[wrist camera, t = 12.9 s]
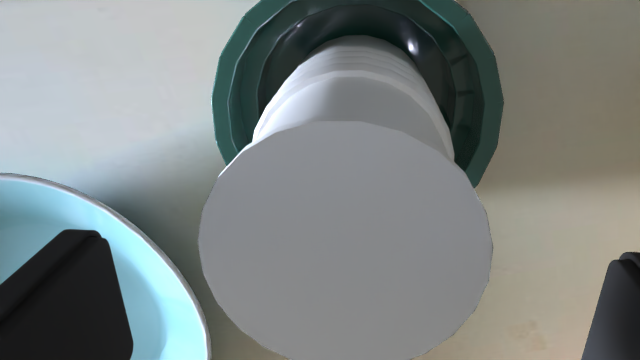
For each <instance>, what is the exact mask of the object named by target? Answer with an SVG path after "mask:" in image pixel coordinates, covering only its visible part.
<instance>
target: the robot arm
mask: <svg viewBox="0 0 640 360" xmlns="http://www.w3.org/2000/svg"><path fill="white" fill-rule="evenodd" d="M133 345H134V343H133V338H132V334H131V330H130V326H129V322H128V317H127V313H126V309H125V305H124V301H123V297H122V293H121V289H120V285H119V281H118V277H117V273H116V269H115V265H114V261H113V257H112V253H111V249H110V245H109V242H108V241H107V239H105V238H102V237H101V235H100V233H99V232H98V231H95V230H81V229H65V230H63V231H62V232H60V233H59V234H58V235H57V236H55V237H54V238H53V239H52V240H51V241H50V242H49V243H47V244H46V245H45V246H44V247H43V248H42V249H41V250H39V251H38V252H37V253H36V254H35V255H34V256H33V257H31V258H30V259H29V260H28V261H27V262H26V263H25V264H23V265H22V266H21V267H20V268H19V269H18V270H17V271H15V272H14V273H13V274H12V275H11V276H10V277H8V278H7V279H6V280H5V281H4V282H3V283H2V284H0V360H130V359H131V356H132V353H133ZM581 360H640V253H639V252H626V253H623V254H622V255H621V256H620V258H619V260H613V261H611V263H610V264H609V266H608V269H607V273H606V276H605V280H604V283H603V286H602V290H601V293H600V297H599V300H598V304H597V307H596V311H595V314H594V318H593V321H592V324H591V328H590V331H589V335H588V338H587V342H586V345H585V349H584V352H583V356H582V359H581Z"/></svg>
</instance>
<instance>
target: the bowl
mask: <svg viewBox="0 0 640 360" xmlns="http://www.w3.org/2000/svg"><path fill="white" fill-rule="evenodd" d="M350 35H367V36H371V37H375V38H379V39H383V40H386V41H387V42H389V43H391V44H393V45H394V46H396V47H398V48H400V49H401V50H402V51H403V52H404V53H405V54H406V55H407V56H408V57H409V58H410V59H411V60H412V61H413V62H414V63H415V64H416V66H417V68H418V70H419V72H420V74H421V75H422V77H423V79H424V80H425V82H426V84H427V86H428V88H429V90H430V92H431V93H432V95H433V97H434V99H435V101H436V103H437V105H438V107H439V109H440V112H441V114H442V115H443V117H444V120H445V122H446V124H447V126H448V128H449V131H450V135H451V140H452V145H453V150H454V162H455V163H456V164H457V165H458V166H459V167H460V168H461V169H462V170H463V171H464V172H465V173H466V175H467V177H468V179H469V181H470V182H471V184H472V186H473V188H475V187H476V186H477V185H478V184H479V182H480V180H481V178H482V176H483V174H484V172H485V170H486V168H487V166H488V164H489V162H490V160H491V158H492V156H493V154H494V152H495V150H496V148H497V145H498V139H499V133H500V126H501V119H502V112H503V105H504V101H503V100H504V98H503V93H502V88H501V83H500V78H499V73H498V68H497V63H496V58H495V55H494V52H493V51H492V49H491V47H490V46H489V44H488V42H487V41H486V39H485V37H484V36H483V34H482V32H481V31H480V29H479V27H478V26H477V24H476V22H475V21H474V19H473V17H472V16H471V14H470V13H468V11H467V10H466V9H464V8H463V7H462V6H461V5H459V4H458V3H457V2H456V1H454V0H261V1H260V2H258V3H257V4H256V5H255V6H254V7H252V8H251V9H250V10H249V11H248V12H247V13H245V16H243V17H242V19H241V20H240V22H239V24H238V26H237V27H236V29H235V31H234V32H233V34H232V36H231V37H230V39H229V41H228V42H227V44H226V46H225V48H224V49H223V51H222V53H221V56H220V57H219V62H218V67H217V72H216V76H215V81H214V86H213V91H212V96H211V105H212V114H213V123H214V131H215V140H216V143H217V146H218V148H219V150H220V152H221V155H222V157H223V159H224V161H225V164H226V166H228V165H229V164H230V163H231V162H232V161H233V159H234V158H235V157H236V156H237V155H238V154H239V153H240V152H241V151H242V150H243V149H244V148H245V147H246V146H247V145H249V144H250V143H252V142H253V136H254V131H255V128H256V126H257V124H258V122H259V120H260V118H261V116H262V114H263V112H264V110H265V108H266V106H267V105H268V104H269V103H270V102H271V100H272V98H273V97H274V96H275V94H276V93H277V92H278V90H279V89H280V88H281V86H282V85H283V83H284V82H285V81H286V80H287V79H288V77H289V76H290V75H291V74H292V73H293V72H294V71H295V70H296V68H297V66H298V65H299V64H300V63H301V62H302V61H303V60H304V58H305V57H306V56H307V55H308V54H309V53H310V52H311V51H312V50H314V49H316V48H317V47H319V46H320V45H322V44H323V43H325V42H327V41H330V40H333V39H336V38H339V37H343V36H350Z"/></svg>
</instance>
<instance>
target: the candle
mask: <svg viewBox="0 0 640 360" xmlns="http://www.w3.org/2000/svg"><path fill="white" fill-rule="evenodd" d="M198 247H199V253H200V259H201V265H202V271H203V275H204V277H205V279H206V281H207V283H208V285H209V287H210V289H211V291H212V294H213V296H214V298H215V300H216V302H217V303H218V304H219V306H220V307H221V308H222V309H223V310H224V312H225V313H226V314H227V315H228V316H229V318H230V319H231V320H232V321H233V322H234V324H235V325H236V326H237V327H238V328H239V329H241V330H242V331H243V332H245V333H246V334H247V335H249V336H250V337H251V338H253V339H254V340H255V341H257V342H258V343H259V344H261V345H262V346H263V347H265V348H267V349H269V350H272V351H274V352H276V353H278V354H280V355H282V356H284V357H286V358H289V359H291V360H410V359H412V358H415V357H418V356H420V355H423V354H426V353H427V352H429V351H430V350H432V349H433V348H435V347H436V346H438V345H439V344H441V343H442V342H444V341H445V340H447V339H448V338H449V337H451V336H452V335H454V334H455V332H456V331H457V330H458V329H459V328H460V327H461V326H462V325H463V323H464V322H465V321H466V320H467V319H468V318H469V317H470V315H471V314H472V313H473V312H474V311H475V309H476V307H477V305H478V303H479V301H480V299H481V297H482V294H483V292H484V290H485V288H486V286H487V284H488V282H489V276H490V269H491V261H492V254H493V244H492V238H491V233H490V228H489V223H488V217H487V213H486V211H485V209H484V206H483V204H482V203H481V201H480V199H479V197H478V195H477V193H476V192H475V190H474V188H473V186H472V184H471V182H470V181H469V179H468V177H467V175H466V173H465V172H464V171H463V170H462V169H461V168H460V167H459V166H458V165H457V164H456V163H455V162H454V150H453V145H452V140H451V135H450V131H449V128H448V126H447V124H446V122H445V120H444V117H443V115H442V114H441V112H440V109H439V107H438V105H437V103H436V101H435V99H434V97H433V95H432V93H431V92H430V90H429V88H428V86H427V84H426V82H425V80H424V79H423V77H422V75H421V74H420V72H419V70H418V68H417V66H416V64H415V63H414V62H413V61H412V60H411V59H410V58H409V57H408V56H407V55H406V54H405V53H404V52H403V51H402V50H401V49H400V48H398V47H396V46H394V45H393V44H391V43H389V42H387V41H386V40H383V39H379V38H375V37H371V36H367V35H350V36H343V37H339V38H336V39H333V40H330V41H327V42H325V43H323V44H322V45H320V46H319V47H317V48H316V49H314V50H312V51H311V52H310V53H309V54H308V55H307V56H306V57H305V58H304V60H303V61H302V62H301V63H300V64H299V65H298V66H297V68H296V70H295V71H294V72H293V73H292V74H291V75H290V76H289V77H288V79H287V80H286V81H285V82H284V83H283V85H282V86H281V88H280V89H279V90H278V92H277V93H276V94H275V96H274V97H273V98H272V100H271V102H270V103H269V104H268V105H267V106H266V108H265V110H264V112H263V114H262V116H261V118H260V120H259V122H258V124H257V126H256V128H255V131H254V136H253V142H252V143H250V144H249V145H247V146H246V147H245V148H244V149H243V150H242V151H241V152H240V153H239V154H238V155H237V156H236V157H235V158H234V159H233V161H232V162H231V163H230V164H229V165H228V166H227V167H226V168H225V169H224V170H223V171H222V172H221V174H220V175H219V177H218V178H217V180H216V182H215V184H214V186H213V188H212V190H211V192H210V194H209V196H208V198H207V200H206V203H205V205H204V207H203V209H202V214H201V221H200V229H199V236H198Z"/></svg>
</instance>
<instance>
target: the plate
mask: <svg viewBox="0 0 640 360" xmlns="http://www.w3.org/2000/svg"><path fill="white" fill-rule="evenodd" d="M65 229H81V230H95V231H98V232H99V233H100V235H101V237H102V238H105V239H107V241H108V242H109V245H110V249H111V253H112V257H113V261H114V265H115V269H116V273H117V277H118V281H119V285H120V289H121V293H122V297H123V301H124V305H125V309H126V313H127V317H128V322H129V326H130V330H131V334H132V338H133V343H134V345H133V353H132V356H131V359H130V360H211V348H212V346H211V338H210V333H209V328H208V325H207V321H206V318H205V315H204V313H203V310H202V308H201V305H200V303H199V301H198V299H197V297H196V295H195V294H194V292H193V290H192V289H191V287H190V285H189V283H188V282H187V281H186V279H185V278H184V276H183V275H182V274H181V272H180V271H179V270H178V268H177V267H176V266H175V264H174V263H173V262H172V261H171V260H170V259H169V257H168V256H167V255H166V254H165V253H164V252H163V251H162V250H161V249H160V248H159V247H158V245H157V244H155V243H154V242H153V241H152V240H151V239H150V238H149V237H148V236H147V235H146V234H145V233H143V232H142V231H141V230H140V229H139V228H138V227H136V226H135V225H134V224H133V223H131V222H130V221H129V220H127V219H126V218H125V217H123V216H122V215H121V214H119V213H118V212H116V211H115V210H113V209H112V208H110V207H108V206H107V205H105V204H103V203H102V202H100V201H98V200H96V199H94V198H92V197H91V196H89V195H87V194H84V193H82V192H80V191H78V190H76V189H73V188H70V187H68V186H65V185H62V184H59V183H56V182H53V181H50V180H46V179H42V178H38V177H33V176H27V175H20V174H12V173H0V284H2V283H3V282H4V281H5V280H6V279H7V278H8V277H10V276H11V275H12V274H13V273H14V272H15V271H17V270H18V269H19V268H20V267H21V266H22V265H23V264H25V263H26V262H27V261H28V260H29V259H30V258H31V257H33V256H34V255H35V254H36V253H37V252H38V251H39V250H41V249H42V248H43V247H44V246H45V245H46V244H47V243H49V242H50V241H51V240H52V239H53V238H54V237H55V236H57V235H58V234H59V233H60V232H62V231H63V230H65Z"/></svg>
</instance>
